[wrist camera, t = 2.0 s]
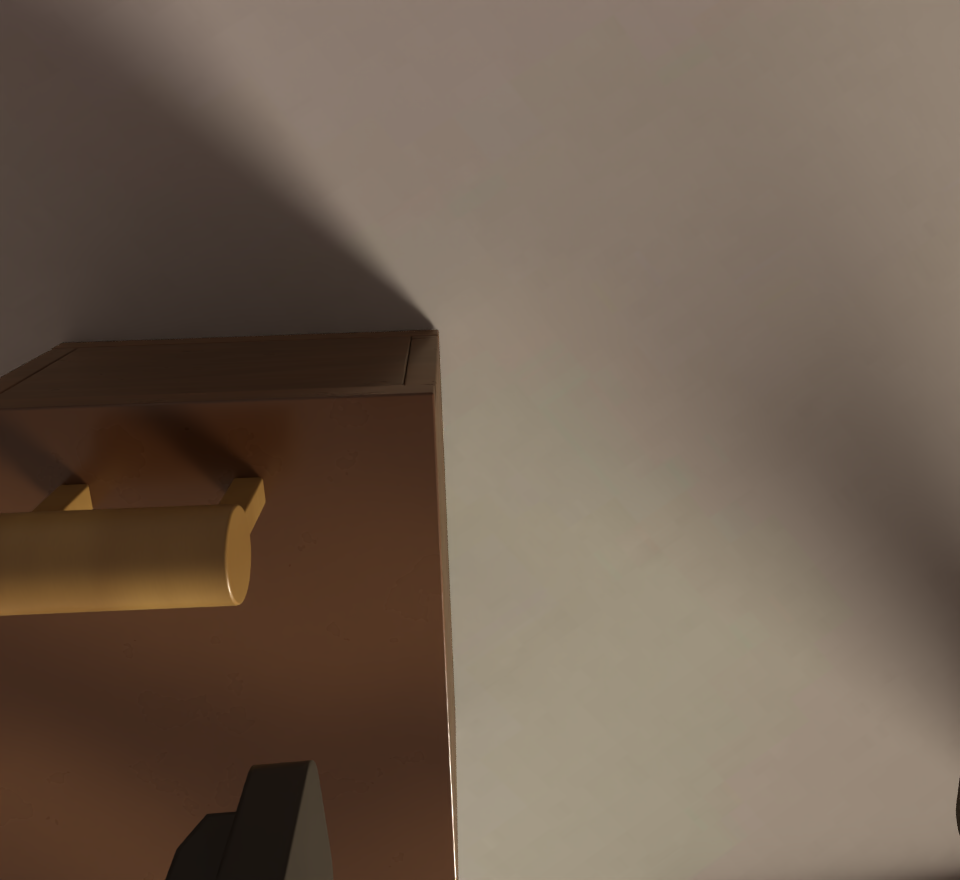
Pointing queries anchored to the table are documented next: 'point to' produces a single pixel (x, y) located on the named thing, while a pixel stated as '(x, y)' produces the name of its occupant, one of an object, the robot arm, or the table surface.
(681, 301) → the table surface
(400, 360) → the chest
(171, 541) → the lid
